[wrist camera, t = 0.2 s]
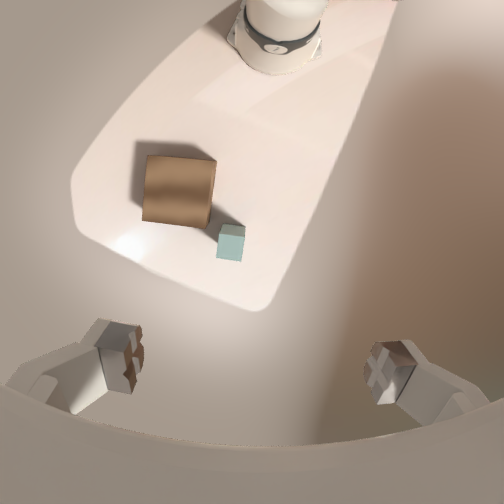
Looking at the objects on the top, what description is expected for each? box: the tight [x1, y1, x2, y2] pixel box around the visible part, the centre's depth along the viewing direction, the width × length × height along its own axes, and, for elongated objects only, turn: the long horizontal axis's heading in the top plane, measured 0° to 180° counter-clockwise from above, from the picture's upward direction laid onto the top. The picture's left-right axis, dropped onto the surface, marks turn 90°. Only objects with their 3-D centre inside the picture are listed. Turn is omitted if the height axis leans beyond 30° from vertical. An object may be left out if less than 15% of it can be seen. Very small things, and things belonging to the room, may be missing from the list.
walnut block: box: [142, 155, 217, 229], centre depth 51 cm, size 12×12×6 cm
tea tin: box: [216, 223, 245, 261], centre depth 53 cm, size 4×4×8 cm
